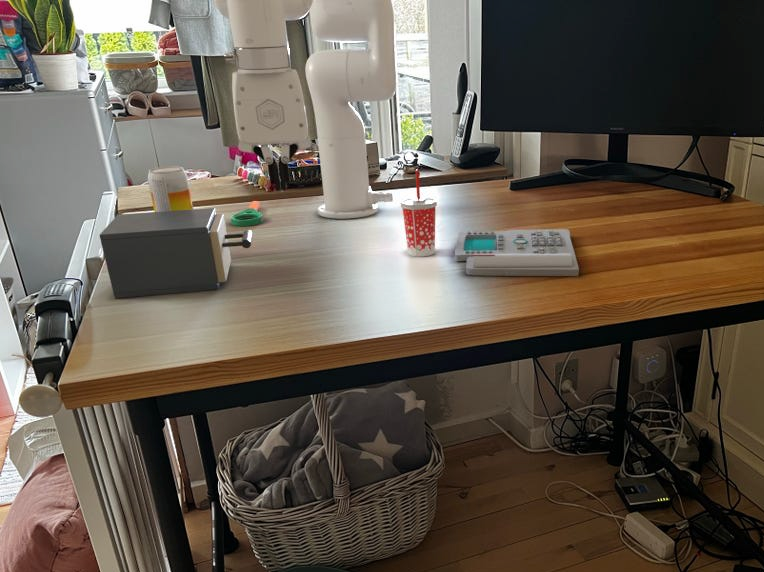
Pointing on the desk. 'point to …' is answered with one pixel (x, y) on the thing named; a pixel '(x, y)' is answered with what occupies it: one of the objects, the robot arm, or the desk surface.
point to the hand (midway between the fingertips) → (281, 188)
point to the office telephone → (517, 253)
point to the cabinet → (160, 253)
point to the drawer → (225, 245)
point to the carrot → (248, 216)
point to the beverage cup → (419, 223)
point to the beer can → (169, 189)
